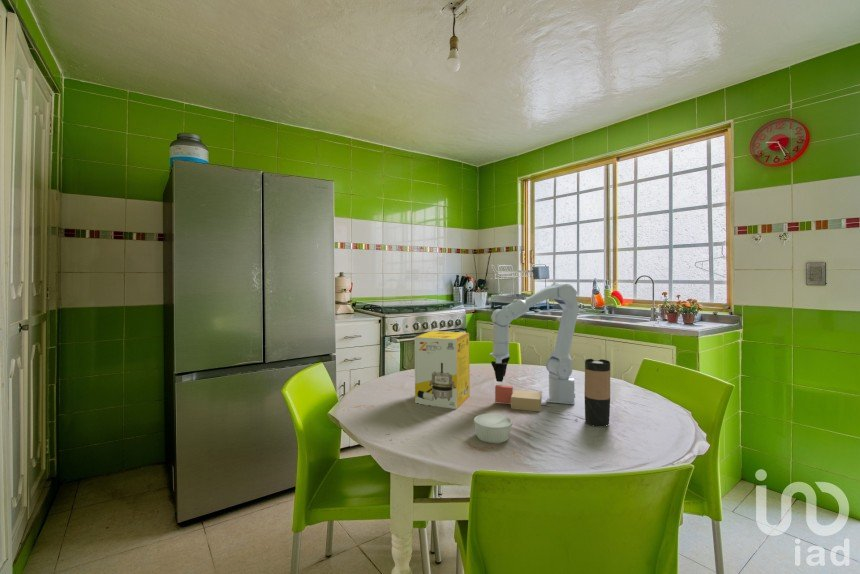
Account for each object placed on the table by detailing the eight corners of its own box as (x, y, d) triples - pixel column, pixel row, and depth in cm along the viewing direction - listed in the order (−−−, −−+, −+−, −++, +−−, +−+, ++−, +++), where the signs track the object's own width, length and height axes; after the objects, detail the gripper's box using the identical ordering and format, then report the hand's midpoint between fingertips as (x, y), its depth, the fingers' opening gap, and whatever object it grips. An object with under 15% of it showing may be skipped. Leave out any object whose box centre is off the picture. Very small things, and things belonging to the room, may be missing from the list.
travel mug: (598, 429, 125) (599, 364, 124) (579, 421, 131) (579, 360, 131) (615, 424, 128) (615, 362, 127) (595, 416, 135) (595, 357, 134)
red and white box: (538, 401, 149) (538, 386, 149) (537, 408, 142) (537, 392, 141) (497, 398, 154) (497, 383, 153) (494, 404, 146) (494, 388, 146)
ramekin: (512, 446, 113) (512, 428, 113) (472, 444, 115) (472, 425, 115) (511, 431, 124) (511, 414, 124) (475, 429, 126) (475, 412, 126)
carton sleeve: (541, 403, 149) (541, 392, 149) (540, 411, 141) (540, 399, 140) (514, 400, 152) (514, 389, 152) (511, 408, 144) (511, 396, 144)
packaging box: (415, 403, 150) (414, 337, 149) (431, 391, 165) (430, 330, 164) (456, 409, 144) (456, 339, 143) (469, 396, 159) (469, 332, 158)
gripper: (492, 338, 156) (492, 373, 157) (487, 344, 142) (487, 383, 143) (511, 339, 154) (511, 374, 155) (507, 345, 140) (507, 384, 141)
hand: (500, 378), depth 149 cm, fingers open, 7 cm apart
